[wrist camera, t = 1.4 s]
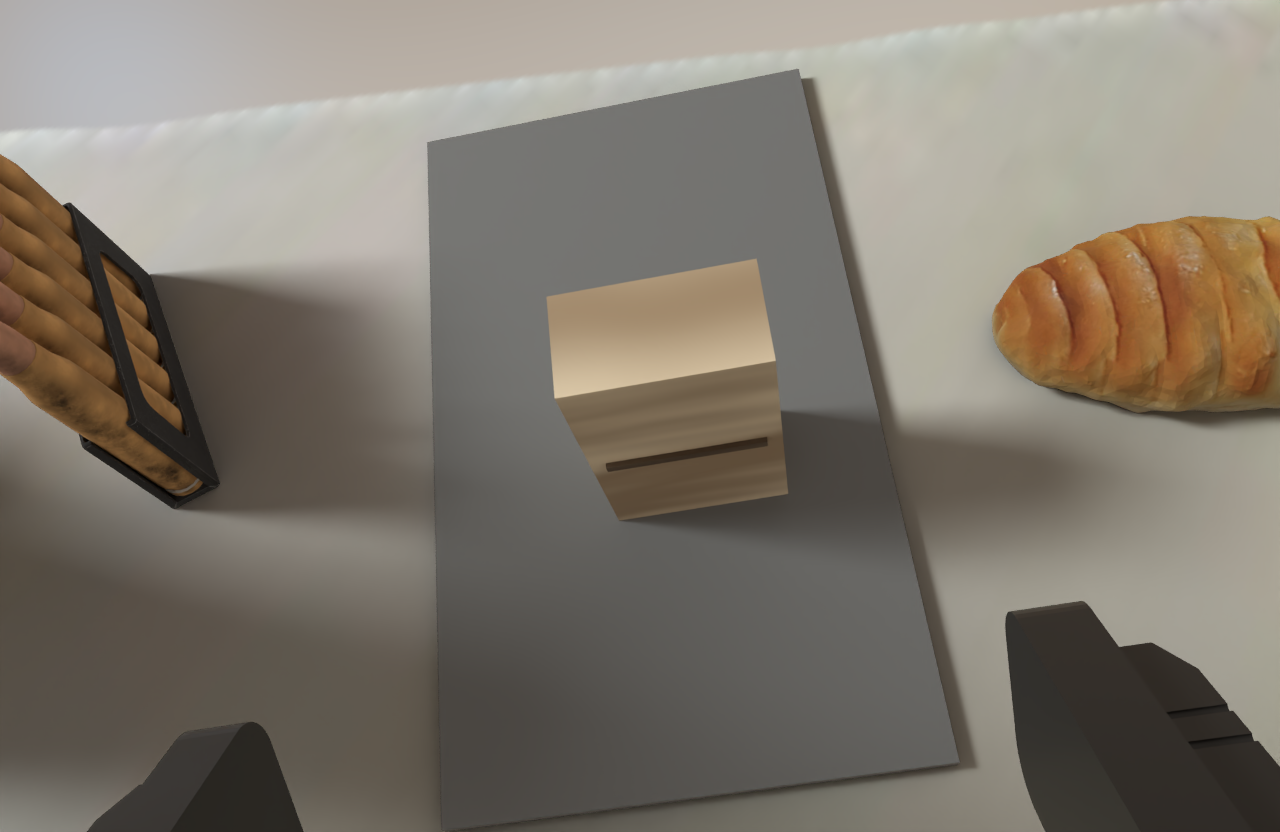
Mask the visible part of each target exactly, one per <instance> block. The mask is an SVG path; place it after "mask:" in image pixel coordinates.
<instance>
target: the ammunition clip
mask: <svg viewBox="0 0 1280 832" xmlns="http://www.w3.org/2000/svg"><path fill="white" fill-rule="evenodd" d="M0 374H1V375H2V376H3V377H4V378H6V379H7V380H9V381H10V382H11V383H13V384H14V385H15V386H17V387H18V388H19V389H20V390H21V391H22V392H23V393H24V394H25V396H26V397H27V398H28V399H29V400H30V401H31V402H32V403H33V404H35V405H36V406H37V407H39V408H40V409H42V410H44V411H45V412H47V413H48V414H50V415H51V416H53V417H54V418H56V419H57V420H59V421H60V422H62V423H63V424H65V425H66V426H68V427H69V428H71V429H73V430H74V431H76V432H77V433H79V436H80V440H81V444H82V447H83V448H84V449H85V450H86V451H88V452H89V453H91V454H92V455H94V456H95V457H97V458H98V459H100V460H101V461H103V462H104V463H106V464H107V465H109V466H110V467H112V468H113V469H115V470H116V471H118V472H119V473H121V474H122V475H124V476H125V477H127V478H128V479H130V480H131V481H133V482H134V483H136V484H137V485H139V486H140V487H142V488H143V489H145V490H146V491H148V492H149V493H151V494H152V495H154V496H155V497H156V498H158V499H159V500H161V501H162V502H164V503H165V504H167V505H168V506H170V507H171V508H174V509H175V508H177V507H179V506H181V505H182V504H184V503H186V502H188V501H190V500H192V499H194V498H196V497H198V496H200V495H202V494H204V493H205V492H207V491H209V490H211V489H213V488H215V487H217V486H218V484H220V483H219V480H218V477H217V474H216V471H215V468H214V465H213V462H212V459H211V456H210V453H209V450H208V447H207V444H206V441H205V438H204V435H203V432H202V429H201V426H200V423H199V420H198V417H197V414H196V411H195V408H194V405H193V402H192V399H191V396H190V393H189V390H188V387H187V384H186V381H185V378H184V375H183V372H182V369H181V366H180V363H179V360H178V357H177V354H176V351H175V348H174V345H173V342H172V339H171V336H170V333H169V330H168V327H167V324H166V321H165V318H164V315H163V312H162V309H161V306H160V303H159V300H158V297H157V294H156V291H155V288H154V285H153V282H152V279H151V277H150V276H149V274H148V273H147V272H145V271H144V270H143V269H142V268H141V267H140V266H139V265H138V264H137V263H136V262H135V261H133V260H132V259H131V258H130V257H129V256H128V255H127V254H126V253H125V252H124V251H123V250H121V249H120V248H119V247H118V246H117V245H116V244H115V243H114V242H113V241H112V240H111V239H109V238H108V237H107V236H106V235H105V234H104V233H103V232H102V231H101V230H100V229H99V228H97V227H96V226H95V225H94V224H93V223H92V222H91V221H90V220H89V219H88V218H87V217H85V216H84V215H83V214H82V213H81V212H80V211H79V210H78V209H77V208H76V207H75V206H73V205H72V204H71V203H70V202H69V203H66V204H64V205H61V204H60V203H59V202H58V201H57V200H55V199H54V198H53V197H52V196H51V195H50V194H49V193H48V192H47V191H46V190H45V189H43V188H42V187H41V186H40V185H39V184H38V183H37V182H36V181H35V180H34V179H32V178H31V177H30V176H29V175H28V174H27V173H26V172H25V171H24V170H23V169H22V168H20V167H19V166H18V165H17V164H15V163H14V162H12V161H10V160H9V159H7V158H5V157H4V156H2V155H0Z"/></svg>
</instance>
